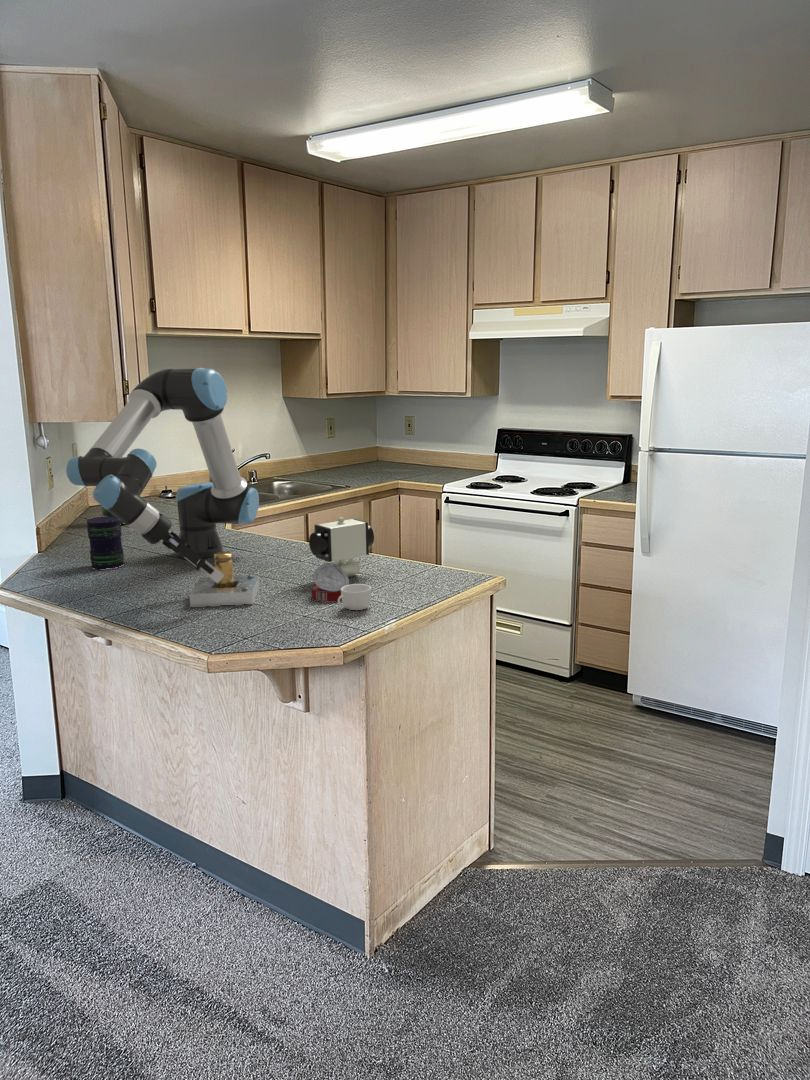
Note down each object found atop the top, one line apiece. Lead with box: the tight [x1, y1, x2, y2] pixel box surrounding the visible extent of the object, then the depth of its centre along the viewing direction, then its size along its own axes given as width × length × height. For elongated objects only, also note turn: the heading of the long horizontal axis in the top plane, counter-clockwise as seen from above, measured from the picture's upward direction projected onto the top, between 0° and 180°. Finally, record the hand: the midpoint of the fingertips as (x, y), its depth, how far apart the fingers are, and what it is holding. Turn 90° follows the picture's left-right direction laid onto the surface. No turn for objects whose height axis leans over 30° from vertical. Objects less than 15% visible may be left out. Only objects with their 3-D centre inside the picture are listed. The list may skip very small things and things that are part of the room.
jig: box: [188, 574, 260, 608], centre depth 214 cm, size 16×16×4 cm
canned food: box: [311, 562, 350, 602], centre depth 213 cm, size 11×10×10 cm
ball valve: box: [308, 517, 375, 578], centre depth 230 cm, size 18×8×18 cm, turn 127°
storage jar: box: [86, 516, 125, 569], centre depth 248 cm, size 10×10×15 cm
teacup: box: [337, 583, 372, 611], centre depth 202 cm, size 10×8×5 cm
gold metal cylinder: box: [213, 551, 235, 588], centre depth 213 cm, size 5×5×12 cm
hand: (213, 573), depth 211 cm, fingers open, 13 cm apart
